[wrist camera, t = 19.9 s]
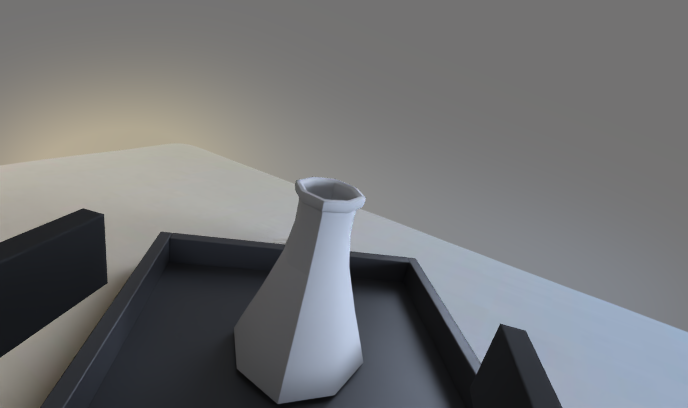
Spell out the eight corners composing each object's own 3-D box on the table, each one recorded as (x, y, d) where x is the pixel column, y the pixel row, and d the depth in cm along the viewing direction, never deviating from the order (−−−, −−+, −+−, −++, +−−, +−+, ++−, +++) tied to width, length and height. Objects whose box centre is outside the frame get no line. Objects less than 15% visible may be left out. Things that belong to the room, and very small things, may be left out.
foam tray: (407, 283, 30) (415, 258, 29) (529, 518, 15) (554, 481, 14) (160, 262, 26) (160, 231, 25) (-17, 561, 11) (-33, 511, 10)
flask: (267, 434, 15) (305, 234, 12) (212, 326, 20) (226, 162, 17) (384, 372, 20) (437, 214, 16) (315, 296, 25) (344, 162, 21)
